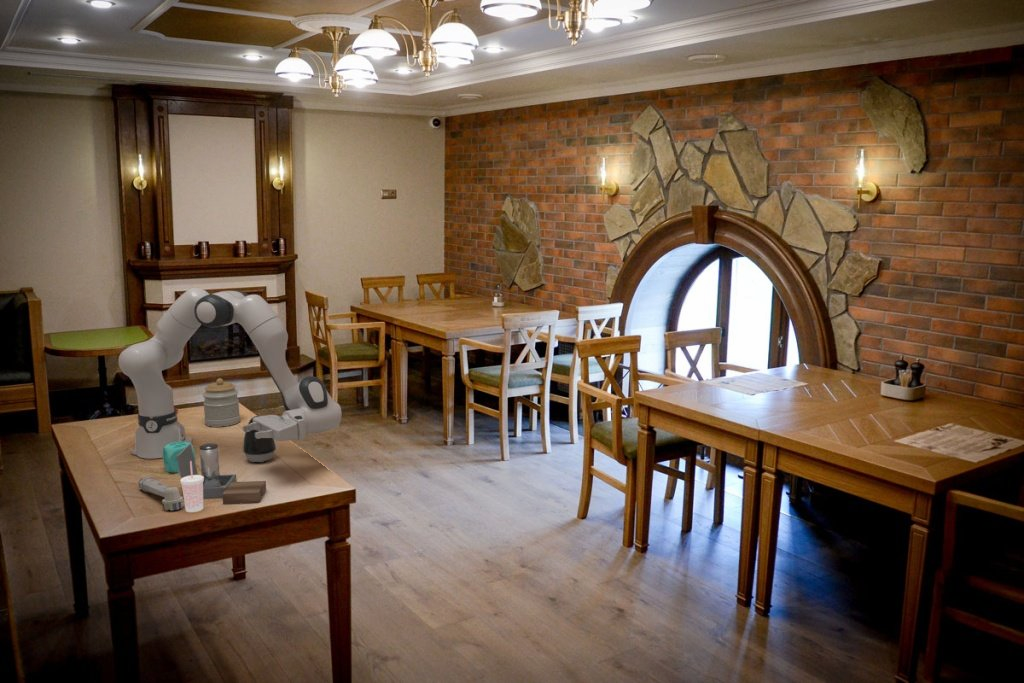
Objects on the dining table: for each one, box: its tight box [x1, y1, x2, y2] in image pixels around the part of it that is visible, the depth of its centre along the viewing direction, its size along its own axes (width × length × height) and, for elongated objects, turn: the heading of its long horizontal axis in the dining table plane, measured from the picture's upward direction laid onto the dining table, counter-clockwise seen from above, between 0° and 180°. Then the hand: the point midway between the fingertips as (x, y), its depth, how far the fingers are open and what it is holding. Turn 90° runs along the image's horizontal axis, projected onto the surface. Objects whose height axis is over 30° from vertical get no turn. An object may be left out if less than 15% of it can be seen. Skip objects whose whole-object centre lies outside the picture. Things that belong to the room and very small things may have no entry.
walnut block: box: [222, 480, 267, 505], centre depth 239 cm, size 10×10×3 cm
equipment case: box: [176, 444, 238, 499], centre depth 243 cm, size 12×14×13 cm
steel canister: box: [199, 443, 222, 488], centre depth 243 cm, size 5×5×14 cm
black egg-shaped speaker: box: [242, 415, 277, 463], centre depth 271 cm, size 10×10×15 cm
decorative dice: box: [162, 442, 196, 474], centre depth 264 cm, size 8×8×8 cm
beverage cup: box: [180, 461, 204, 513], centre depth 229 cm, size 6×6×14 cm
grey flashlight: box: [138, 476, 184, 512], centre depth 238 cm, size 5×7×25 cm
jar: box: [202, 377, 241, 428], centre depth 316 cm, size 13×13×18 cm
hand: (249, 432), depth 249 cm, fingers open, 8 cm apart
